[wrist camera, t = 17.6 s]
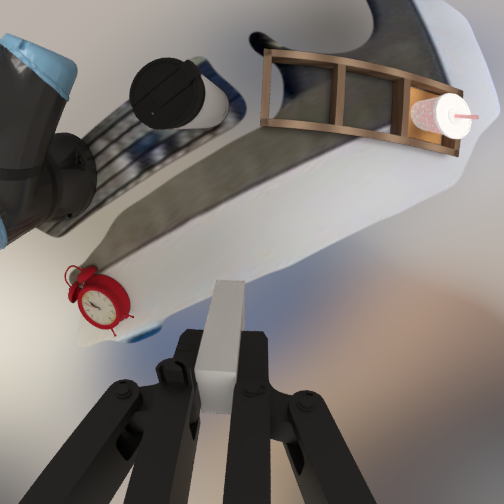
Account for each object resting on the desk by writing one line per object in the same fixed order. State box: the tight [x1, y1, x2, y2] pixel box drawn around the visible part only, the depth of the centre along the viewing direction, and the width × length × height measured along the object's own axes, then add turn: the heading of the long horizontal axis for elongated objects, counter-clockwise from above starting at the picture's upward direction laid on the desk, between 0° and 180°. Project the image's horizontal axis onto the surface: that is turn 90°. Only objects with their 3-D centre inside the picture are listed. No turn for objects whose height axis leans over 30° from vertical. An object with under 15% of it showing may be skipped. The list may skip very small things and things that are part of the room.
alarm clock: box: [65, 265, 134, 336], centre depth 50 cm, size 10×6×15 cm
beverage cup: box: [411, 93, 479, 139], centre depth 30 cm, size 6×6×14 cm
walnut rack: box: [260, 49, 463, 157], centre depth 35 cm, size 30×10×4 cm, turn 87°
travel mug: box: [129, 58, 229, 130], centre depth 29 cm, size 6×7×20 cm
